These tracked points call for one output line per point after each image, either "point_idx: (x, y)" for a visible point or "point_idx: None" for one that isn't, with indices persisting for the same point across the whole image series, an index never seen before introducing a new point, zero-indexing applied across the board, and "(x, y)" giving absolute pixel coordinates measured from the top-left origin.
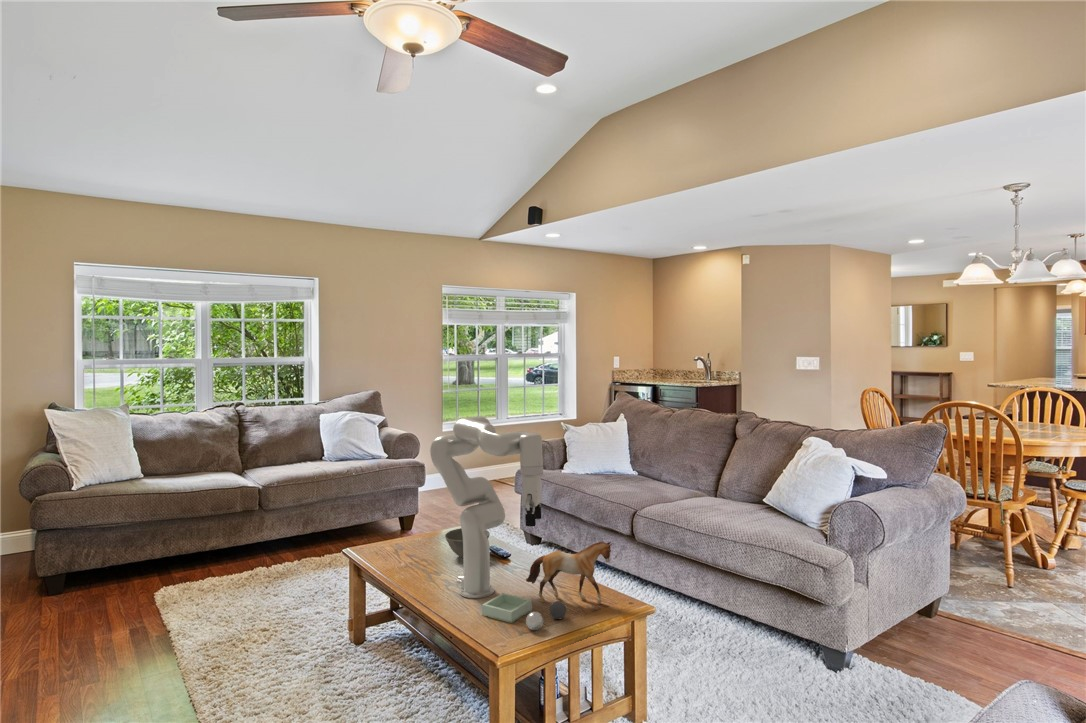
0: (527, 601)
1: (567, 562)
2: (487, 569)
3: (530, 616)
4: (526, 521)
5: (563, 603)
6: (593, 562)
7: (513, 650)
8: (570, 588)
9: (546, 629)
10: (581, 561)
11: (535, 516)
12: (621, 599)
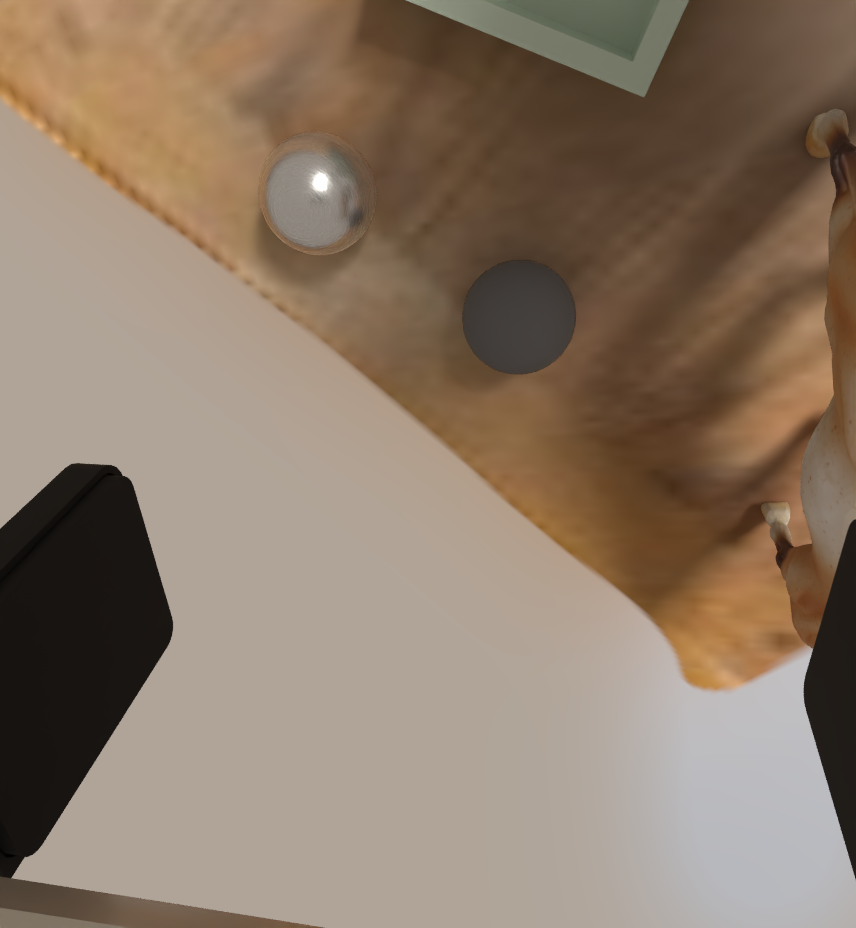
0: (605, 66)
1: (827, 499)
2: None
3: (267, 184)
4: (15, 541)
5: (524, 369)
6: None
7: (51, 115)
8: None
9: (356, 251)
10: None
11: (851, 632)
12: None
